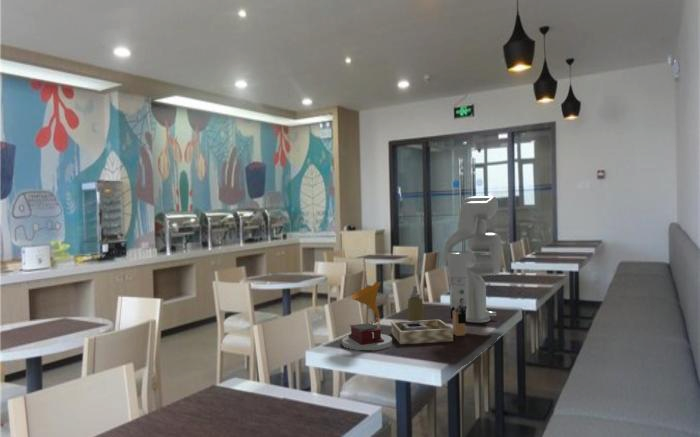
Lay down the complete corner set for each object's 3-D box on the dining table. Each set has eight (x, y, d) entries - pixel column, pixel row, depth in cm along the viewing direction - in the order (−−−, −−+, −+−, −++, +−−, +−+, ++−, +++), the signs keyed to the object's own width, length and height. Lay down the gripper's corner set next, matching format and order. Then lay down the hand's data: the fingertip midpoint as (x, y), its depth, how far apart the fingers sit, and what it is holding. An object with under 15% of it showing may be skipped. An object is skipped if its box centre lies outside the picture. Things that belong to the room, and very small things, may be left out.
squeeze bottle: (424, 321, 236) (422, 284, 235) (424, 325, 228) (423, 287, 227) (407, 321, 236) (406, 284, 236) (407, 325, 228) (406, 287, 228)
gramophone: (379, 335, 212) (377, 278, 212) (401, 346, 193) (399, 284, 193) (335, 341, 205) (333, 281, 205) (353, 353, 186) (351, 288, 186)
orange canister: (462, 332, 212) (461, 307, 212) (465, 335, 208) (464, 309, 208) (453, 333, 211) (452, 308, 211) (456, 335, 207) (455, 310, 207)
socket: (421, 332, 211) (421, 322, 211) (427, 337, 202) (427, 326, 202) (401, 333, 210) (401, 323, 210) (406, 338, 201) (406, 328, 201)
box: (440, 330, 217) (439, 319, 217) (453, 341, 199) (452, 328, 199) (391, 333, 214) (391, 322, 214) (400, 344, 197) (400, 331, 196)
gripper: (473, 283, 201) (474, 324, 201) (459, 278, 218) (460, 317, 218) (455, 283, 200) (456, 325, 200) (443, 279, 217) (443, 317, 217)
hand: (458, 321), depth 209 cm, fingers open, 9 cm apart
